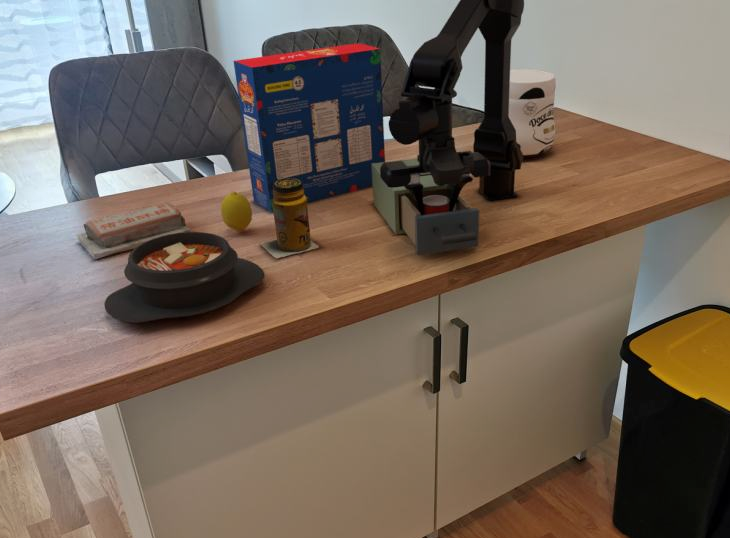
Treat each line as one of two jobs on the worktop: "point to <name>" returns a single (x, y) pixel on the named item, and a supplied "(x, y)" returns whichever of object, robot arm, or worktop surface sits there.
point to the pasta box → (312, 119)
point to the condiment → (290, 219)
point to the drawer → (439, 225)
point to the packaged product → (131, 229)
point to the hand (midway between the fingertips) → (435, 215)
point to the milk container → (532, 110)
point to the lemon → (236, 211)
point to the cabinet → (395, 194)
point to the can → (436, 204)
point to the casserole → (181, 278)
